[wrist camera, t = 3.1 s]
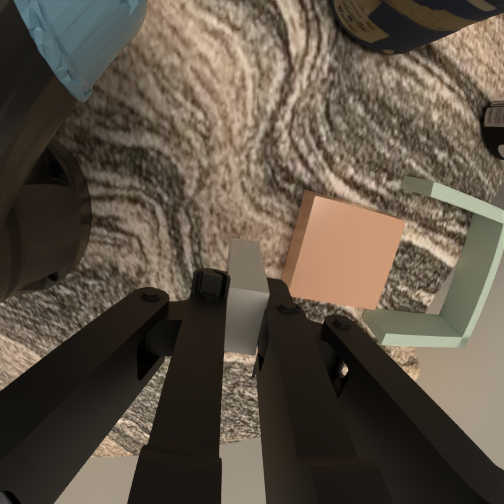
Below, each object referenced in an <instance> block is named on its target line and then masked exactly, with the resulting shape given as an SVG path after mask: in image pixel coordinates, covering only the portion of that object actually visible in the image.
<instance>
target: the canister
mask: <svg viewBox="0 0 504 504" xmlns="http://www.w3.org/2000/svg"><path fill="white" fill-rule="evenodd" d="M331 6H332V10H333V13H334V15H335V17H336V19H337V20H338V22H339V23H340V25H341V26H342V27H343V29H344V30H345V31H346V32H347V33H348V34H349V35H350V36H351V37H353V38H354V39H355V40H357V41H358V42H359V43H361V44H363V45H364V46H366V47H368V48H370V49H373V50H376V51H379V52H382V53H387V54H402V53H406V52H409V51H412V50H414V49H416V48H418V47H420V46H423V45H425V44H428V43H431V42H433V41H436V40H438V39H440V38H443V37H445V36H447V35H450V34H452V33H455V32H457V31H459V30H460V29H462V28H464V27H467V26H469V25H471V24H474V23H476V22H479V21H482V20H485V19H488V18H490V17H492V16H495V15H498V14H501V13H504V0H331Z"/></svg>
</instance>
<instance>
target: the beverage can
mask: <svg viewBox="0 0 504 504" xmlns="http://www.w3.org/2000/svg"><path fill="white" fill-rule="evenodd" d="M482 126H483V134H484V138H485V141H486V143H487V145H488V146H489V148H490V150H491V151H492V153H493V154H494V155H495V156H496V157H498V158H499V159H501V160H504V100H503V101H494V102H492V103H490V104H489V106H488V107H487V109H486V111H485V113H484V116H483V124H482Z"/></svg>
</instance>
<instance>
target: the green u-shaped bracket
mask: <svg viewBox="0 0 504 504" xmlns="http://www.w3.org/2000/svg"><path fill="white" fill-rule="evenodd" d="M401 188H403V189H406V190H409V191H412V192H416V193H419V194H422V195H425V196H428V197H431V198H434V199H437V200H440V201H442V202H445V203H448V204H451V205H454V206H457V207H459V208H462V209H465V210H467V211H470V212H473V215H472V219H471V223H470V227H469V230H468V234H467V237H466V241H465V244H464V247H463V251H462V254H461V257H460V260H459V263H458V266H457V269H456V272H455V275H454V278H453V280H452V283H451V286H450V289H449V291H448V294H447V296H446V299H445V302H444V304H443V307H442V309H441V311H440V314H439V315H433V314H423V313H414V312H404V311H395V310H386V309H377V308H376V309H375V310H371V309H365V312H364V315H363V317H362V318H363V319H364V321H365V322H366V324H367V325H368V327H369V328H370V329H371V331H372V332H373V334H374V335H375V337H376V338H377V340H378V341H379V343H380V344H381V345H391V346H416V347H465V346H466V344H467V342H468V339H469V337H470V335H471V333H472V331H473V329H474V327H475V324H476V322H477V320H478V318H479V315H480V313H481V311H482V308H483V306H484V303H485V301H486V299H487V296H488V293H489V291H490V288H491V286H492V283H493V280H494V277H495V274H496V272H497V269H498V266H499V263H500V260H501V256H502V253H503V250H504V211H503V210H501V209H499V208H497V207H495V206H493V205H490V204H488V203H486V202H483V201H481V200H479V199H476V198H474V197H472V196H469V195H467V194H464V193H462V192H459V191H457V190H454V189H452V188H449V187H447V186H444V185H441V184H439V183H436V182H433V181H428V180H424V179H419V178H414V177H410V176H405V175H404V177H403V182H402V186H401Z"/></svg>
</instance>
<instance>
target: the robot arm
mask: <svg viewBox="0 0 504 504" xmlns="http://www.w3.org/2000/svg"><path fill="white" fill-rule="evenodd" d="M146 8H147V0H0V303H2V302H3V301H4V300H5V299H7V298H8V297H12V296H17V295H22V294H27V293H32V292H37V291H42V290H45V289H48V288H50V287H52V286H54V285H55V284H57V283H58V282H59V281H61V280H62V279H63V278H64V277H66V276H67V275H68V274H69V273H70V272H71V271H72V270H73V269H74V268H75V267H76V266H77V264H78V263H79V261H80V260H81V258H82V256H83V254H84V251H85V249H86V246H87V243H88V239H89V234H90V228H91V204H90V197H89V192H88V188H87V184H86V181H85V178H84V176H83V174H82V171H81V169H80V167H79V165H78V164H77V162H76V160H75V159H74V157H73V156H72V155H71V154H70V152H69V151H68V150H67V149H66V148H65V147H64V146H63V145H61V144H60V143H59V142H57V141H56V140H54V139H52V138H53V136H54V135H55V133H56V132H57V131H58V129H59V128H60V126H61V125H62V124H63V122H64V121H65V120H66V118H67V117H68V116H69V114H70V113H71V112H72V110H73V109H74V108H75V107H76V105H77V104H78V103H79V102H80V101H81V102H85V101H86V100H87V99H88V98H89V97H90V96H91V94H92V87H93V85H94V84H95V83H96V82H97V80H98V79H99V78H100V76H101V75H102V74H103V73H104V72H105V70H106V69H107V68H108V67H109V65H110V64H111V63H112V62H113V61H114V60H115V58H116V57H117V56H118V55H119V54H120V53H121V51H122V50H123V49H124V48H125V47H126V46H127V45H128V44H129V43H130V42H131V40H132V39H133V38H134V37H135V36H136V34H137V33H138V31H139V29H140V28H141V26H142V24H143V21H144V19H145V15H146ZM169 299H170V298H169V295H168V294H167V293H166V292H165V291H163V290H160V289H157V288H154V287H145V288H139V289H137V290H134V291H133V292H132V293H130V294H129V295H127V296H126V297H125V298H123V299H122V300H120V301H119V302H118V303H116V304H115V305H114V306H112V307H111V308H109V309H108V310H107V311H105V312H104V313H102V314H101V315H100V316H98V317H97V318H96V319H94V320H93V321H92V322H90V323H89V324H88V325H86V326H85V327H83V328H82V329H81V330H79V331H78V332H77V333H75V334H74V335H73V336H71V337H70V338H69V339H67V340H66V341H65V342H63V343H62V344H61V345H59V346H58V347H57V348H55V349H54V350H53V351H51V352H50V353H49V354H48V355H46V356H45V357H44V358H42V359H41V360H40V361H38V362H37V363H36V364H35V365H33V366H32V367H31V368H29V369H28V370H27V371H26V372H24V373H23V374H22V375H20V376H19V377H18V378H17V379H15V380H14V381H13V382H12V383H10V384H9V385H8V386H6V387H5V388H4V389H3V390H1V391H0V504H54V502H55V501H56V500H57V499H58V497H59V496H60V495H61V493H62V492H63V491H64V490H65V488H66V487H67V486H68V484H69V483H70V482H71V481H72V479H73V478H74V477H75V475H76V474H77V473H78V472H79V470H80V469H81V468H82V466H83V465H84V464H85V463H86V461H87V460H88V459H89V457H90V456H91V455H92V454H93V452H94V451H95V450H96V448H97V447H98V446H99V445H100V443H101V442H102V441H103V439H104V438H105V437H106V436H107V434H108V433H109V432H110V431H111V429H112V428H113V427H114V425H115V424H116V423H117V422H118V420H119V419H120V418H121V416H122V415H123V414H124V413H125V411H126V410H127V409H128V407H129V406H130V405H131V404H132V402H133V401H134V400H135V398H136V397H137V396H138V395H139V393H140V392H141V391H142V389H143V388H144V387H145V386H146V384H147V383H148V382H149V380H150V379H151V378H152V377H153V375H154V374H155V373H156V372H157V370H158V369H159V368H160V366H161V365H162V364H163V363H164V360H165V356H172V357H171V361H170V364H169V367H168V371H167V374H166V378H165V382H164V385H163V389H162V392H161V396H160V400H159V403H158V407H157V411H156V414H155V418H154V422H153V426H152V430H151V434H150V437H149V441H148V444H147V446H146V445H143V447H142V449H141V451H140V455H139V458H138V462H137V466H136V470H135V474H134V477H133V482H132V486H131V490H130V494H129V498H128V503H127V504H221V483H222V461H221V458H219V441H220V419H221V398H222V379H223V360H224V351H226V352H232V353H240V354H247V355H255V353H256V348H257V346H258V354H257V358H256V362H255V366H254V370H253V374H252V377H251V378H254V377H255V375H256V379H257V392H258V405H259V418H260V430H261V443H262V456H263V467H264V481H265V493H266V504H504V470H503V469H501V468H499V467H498V466H496V465H495V464H494V463H493V462H492V461H491V460H490V459H489V458H488V457H487V456H486V455H485V454H484V453H483V451H482V450H481V449H480V448H479V447H478V446H477V445H476V444H475V443H474V442H473V441H472V440H471V439H470V438H469V437H468V436H467V435H466V434H465V433H464V431H463V430H462V429H461V428H460V427H459V426H458V425H457V424H456V423H455V422H454V421H453V420H452V419H451V418H450V417H449V416H448V415H447V414H446V413H445V412H444V411H443V410H442V409H441V408H440V407H439V406H438V405H437V404H436V403H435V402H434V401H433V400H432V399H431V398H430V397H429V396H428V395H427V394H426V392H424V391H423V390H422V388H421V387H419V385H418V384H417V383H416V382H415V381H414V380H413V379H412V378H411V377H410V376H409V375H408V374H407V373H406V372H405V371H404V370H403V369H402V368H401V367H400V366H399V365H398V364H397V363H396V362H395V361H394V360H393V359H392V358H391V357H390V356H389V355H388V354H387V353H386V352H385V351H384V350H383V349H382V348H381V347H380V346H379V345H378V344H377V343H376V342H374V341H373V340H372V339H371V338H370V337H369V336H368V335H367V334H366V333H365V332H364V331H363V330H362V329H361V328H360V327H359V326H358V325H357V324H356V323H355V322H354V321H352V320H351V319H348V318H347V317H345V316H342V315H328V316H327V317H325V319H324V323H323V324H321V323H317V322H314V321H311V320H308V319H307V317H306V314H305V312H304V310H303V309H302V307H300V306H299V305H297V304H295V303H293V300H292V297H291V295H290V292H289V289H288V286H287V284H286V283H284V282H283V281H282V280H279V279H273V278H267V277H266V274H265V269H264V265H263V260H262V255H261V251H260V246H259V242H254V241H248V240H243V239H237V238H231V243H230V249H229V255H228V260H227V266H226V272H225V271H221V270H217V269H211V268H201V269H197V270H195V271H194V273H193V280H192V288H191V295H190V298H189V299H187V300H184V301H169ZM344 364H346V365H347V367H348V372H347V374H346V376H344V375H343V374H342V372H341V371H342V369H343V367H344Z"/></svg>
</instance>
